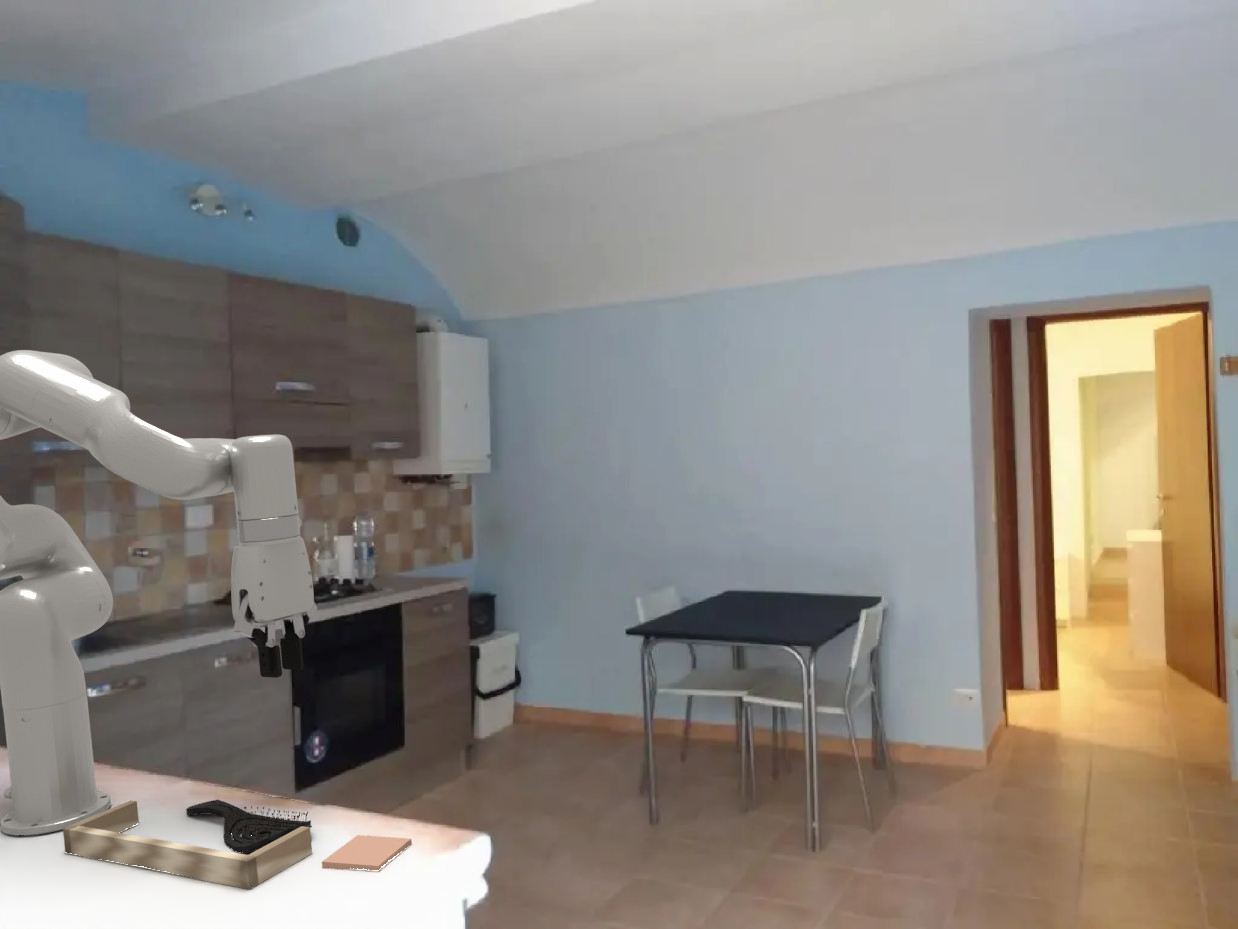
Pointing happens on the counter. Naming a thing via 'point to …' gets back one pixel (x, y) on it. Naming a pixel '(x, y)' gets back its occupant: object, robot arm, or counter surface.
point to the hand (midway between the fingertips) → (282, 671)
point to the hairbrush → (248, 825)
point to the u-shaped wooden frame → (181, 850)
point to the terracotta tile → (366, 852)
